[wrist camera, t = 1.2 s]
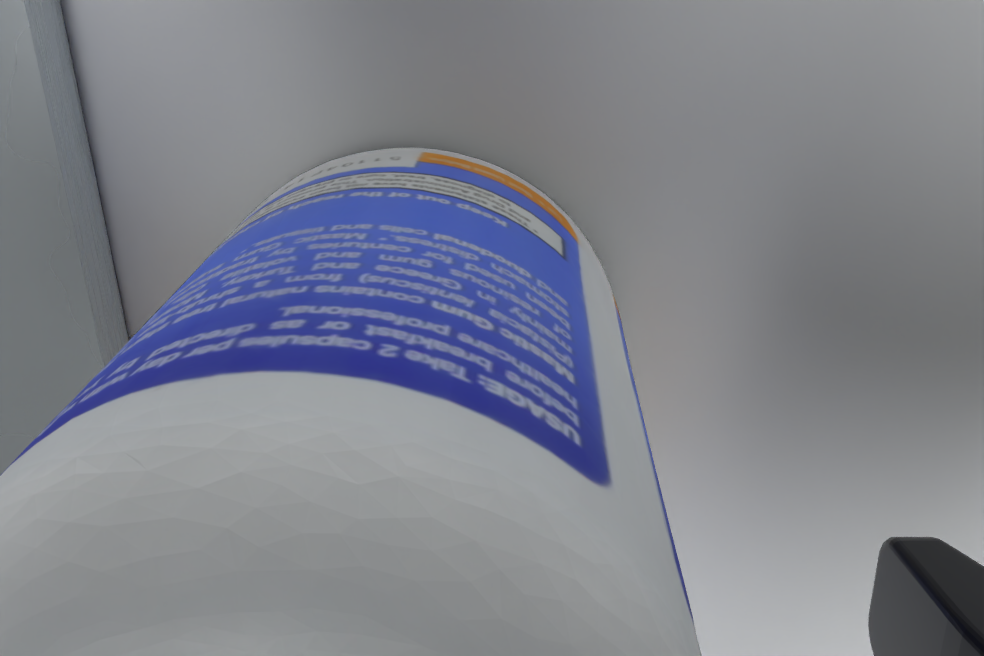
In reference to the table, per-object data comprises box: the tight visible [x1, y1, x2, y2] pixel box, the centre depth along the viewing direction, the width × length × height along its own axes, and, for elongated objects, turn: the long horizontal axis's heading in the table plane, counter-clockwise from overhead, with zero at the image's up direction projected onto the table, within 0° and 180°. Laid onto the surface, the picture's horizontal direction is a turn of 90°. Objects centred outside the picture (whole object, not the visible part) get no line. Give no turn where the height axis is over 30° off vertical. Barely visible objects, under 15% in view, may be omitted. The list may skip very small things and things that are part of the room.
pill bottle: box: [0, 148, 701, 656], centre depth 8 cm, size 5×5×10 cm
